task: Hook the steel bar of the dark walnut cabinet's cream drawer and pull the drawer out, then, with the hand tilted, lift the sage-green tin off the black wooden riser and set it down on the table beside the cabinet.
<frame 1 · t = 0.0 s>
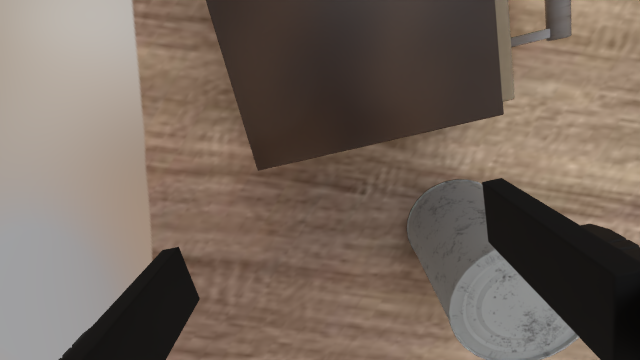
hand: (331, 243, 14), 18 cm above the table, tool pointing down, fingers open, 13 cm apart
cabinet: (345, 42, 29), on the table
drawer: (411, 20, 24), point 5 cm above the table, slide at 0.0 cm
grey concrete cylinder: (454, 224, 34), on the table
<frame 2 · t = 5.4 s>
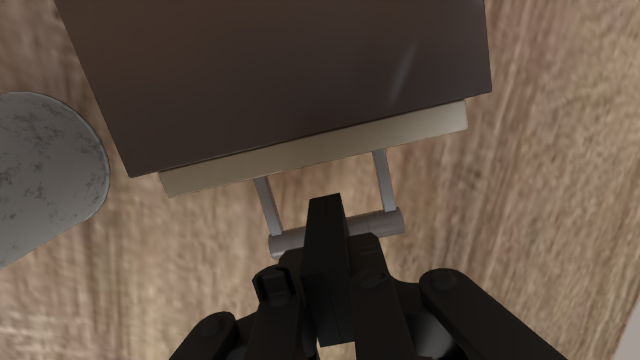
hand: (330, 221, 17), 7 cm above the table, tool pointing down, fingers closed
drawer: (292, 52, 16), point 5 cm above the table, slide at 0.2 cm, touching gripper
grey concrete cylinder: (43, 162, 23), on the table
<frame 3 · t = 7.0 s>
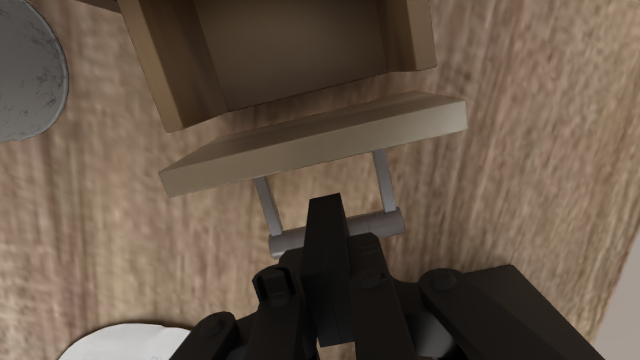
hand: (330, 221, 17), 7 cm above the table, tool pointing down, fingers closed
riser: (446, 337, 27), on the table
drawer: (292, 52, 16), point 5 cm above the table, slide at 6.7 cm, touching gripper
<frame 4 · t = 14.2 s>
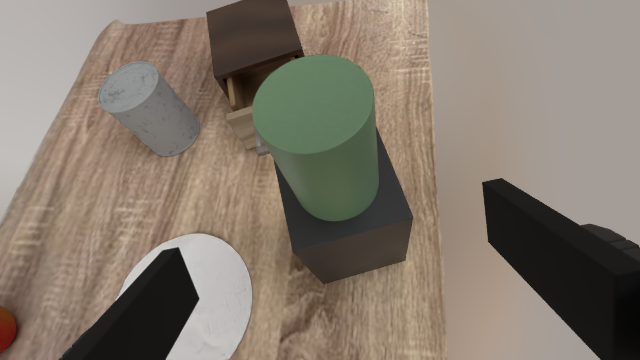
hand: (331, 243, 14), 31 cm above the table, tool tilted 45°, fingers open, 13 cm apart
tin: (336, 181, 32), point 16 cm above the table, touching riser
riser: (352, 233, 46), on the table
plaque: (182, 306, 46), on the table
cabinet: (269, 73, 63), on the table
drawer: (271, 100, 53), point 5 cm above the table, slide at 6.8 cm
grey concrete cylinder: (175, 133, 61), on the table
apple: (6, 336, 49), on the table
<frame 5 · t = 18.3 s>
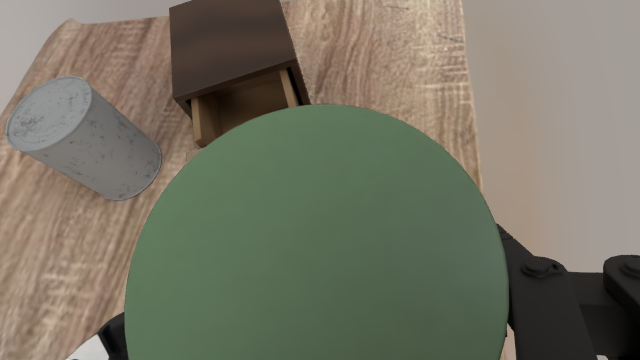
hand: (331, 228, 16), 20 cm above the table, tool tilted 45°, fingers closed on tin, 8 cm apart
tin: (352, 312, 18), point 16 cm above the table, touching gripper, riser
cabinet: (255, 87, 48), on the table
drawer: (254, 129, 38), point 5 cm above the table, slide at 6.8 cm
grey concrete cylinder: (129, 168, 46), on the table
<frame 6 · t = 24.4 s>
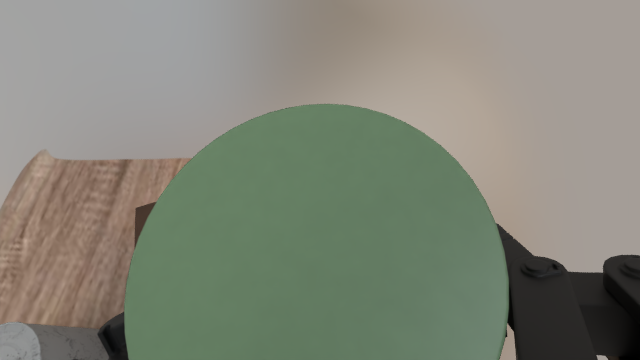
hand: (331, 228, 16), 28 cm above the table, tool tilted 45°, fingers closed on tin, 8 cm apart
tin: (352, 312, 18), point 24 cm above the table, touching gripper
cabinet: (231, 273, 45), on the table
when the fingers open (4 cm above the table, at t = 31.0 s): tin stays where it is, on the table.
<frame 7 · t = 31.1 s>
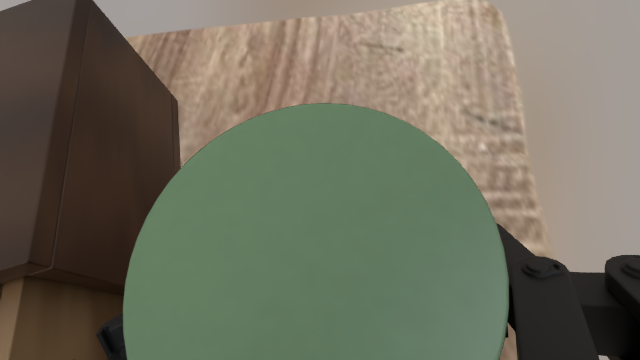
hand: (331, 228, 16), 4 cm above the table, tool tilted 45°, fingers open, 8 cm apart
tin: (353, 313, 18), on the table
cabinet: (88, 214, 24), on the table
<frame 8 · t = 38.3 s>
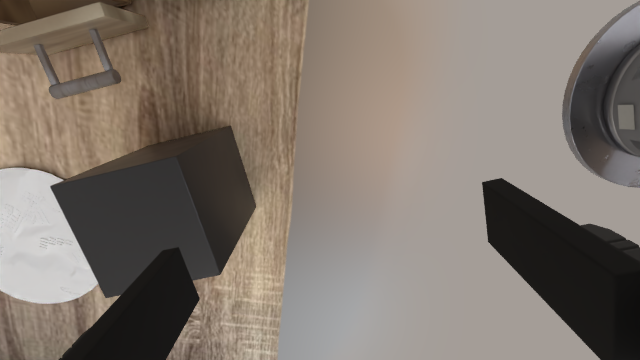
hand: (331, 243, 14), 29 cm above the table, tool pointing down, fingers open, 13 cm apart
riser: (203, 176, 44), on the table
plaque: (41, 235, 47), on the table
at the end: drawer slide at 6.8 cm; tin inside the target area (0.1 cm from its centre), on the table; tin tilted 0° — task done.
